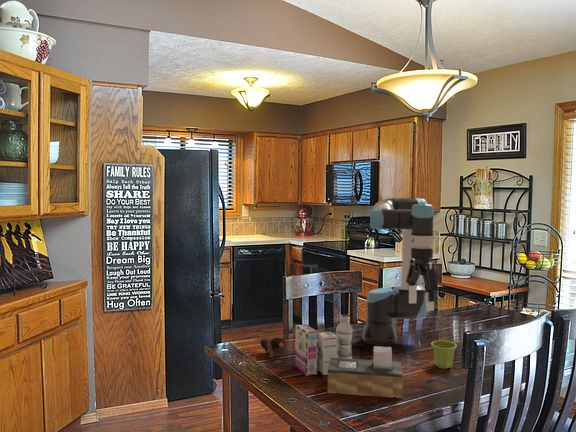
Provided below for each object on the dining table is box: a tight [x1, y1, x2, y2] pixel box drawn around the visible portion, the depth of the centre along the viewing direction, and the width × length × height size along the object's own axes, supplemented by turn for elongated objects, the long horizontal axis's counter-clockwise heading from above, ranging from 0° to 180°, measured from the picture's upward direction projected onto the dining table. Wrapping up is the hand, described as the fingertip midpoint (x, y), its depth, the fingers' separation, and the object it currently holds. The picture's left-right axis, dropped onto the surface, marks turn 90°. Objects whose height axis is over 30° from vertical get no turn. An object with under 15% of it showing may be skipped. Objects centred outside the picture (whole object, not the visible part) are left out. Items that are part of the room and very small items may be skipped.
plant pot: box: [430, 340, 457, 370], centre depth 195 cm, size 9×9×9 cm
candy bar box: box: [294, 323, 319, 377], centre depth 190 cm, size 11×5×16 cm, turn 22°
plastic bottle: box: [335, 314, 354, 359], centre depth 193 cm, size 6×7×20 cm
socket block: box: [327, 358, 404, 399], centre depth 173 cm, size 12×25×8 cm, turn 81°
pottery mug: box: [260, 336, 288, 359], centre depth 208 cm, size 12×10×8 cm
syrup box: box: [317, 331, 338, 376], centre depth 188 cm, size 6×6×14 cm
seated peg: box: [338, 361, 357, 369], centre depth 174 cm, size 6×6×8 cm
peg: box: [372, 345, 393, 371], centre depth 172 cm, size 6×6×8 cm
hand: (420, 306), depth 180 cm, fingers open, 13 cm apart
